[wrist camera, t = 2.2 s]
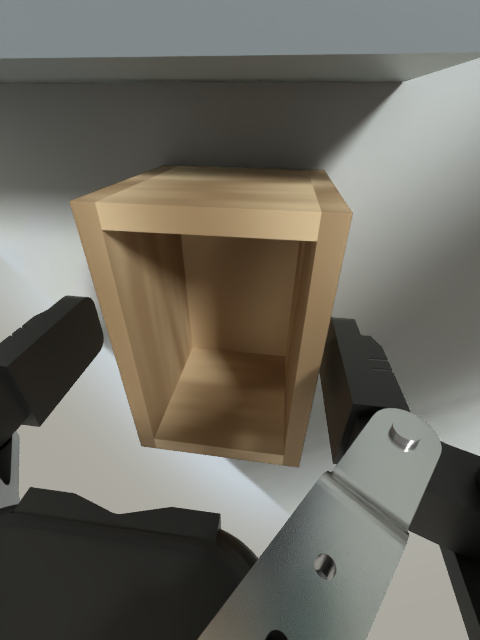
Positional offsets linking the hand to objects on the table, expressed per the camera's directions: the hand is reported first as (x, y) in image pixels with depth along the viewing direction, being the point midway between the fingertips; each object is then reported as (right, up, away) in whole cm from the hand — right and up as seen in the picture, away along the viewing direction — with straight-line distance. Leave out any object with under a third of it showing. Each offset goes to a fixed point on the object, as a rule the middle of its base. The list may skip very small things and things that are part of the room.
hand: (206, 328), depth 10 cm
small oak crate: (+1, +2, +3) cm, 4 cm away
